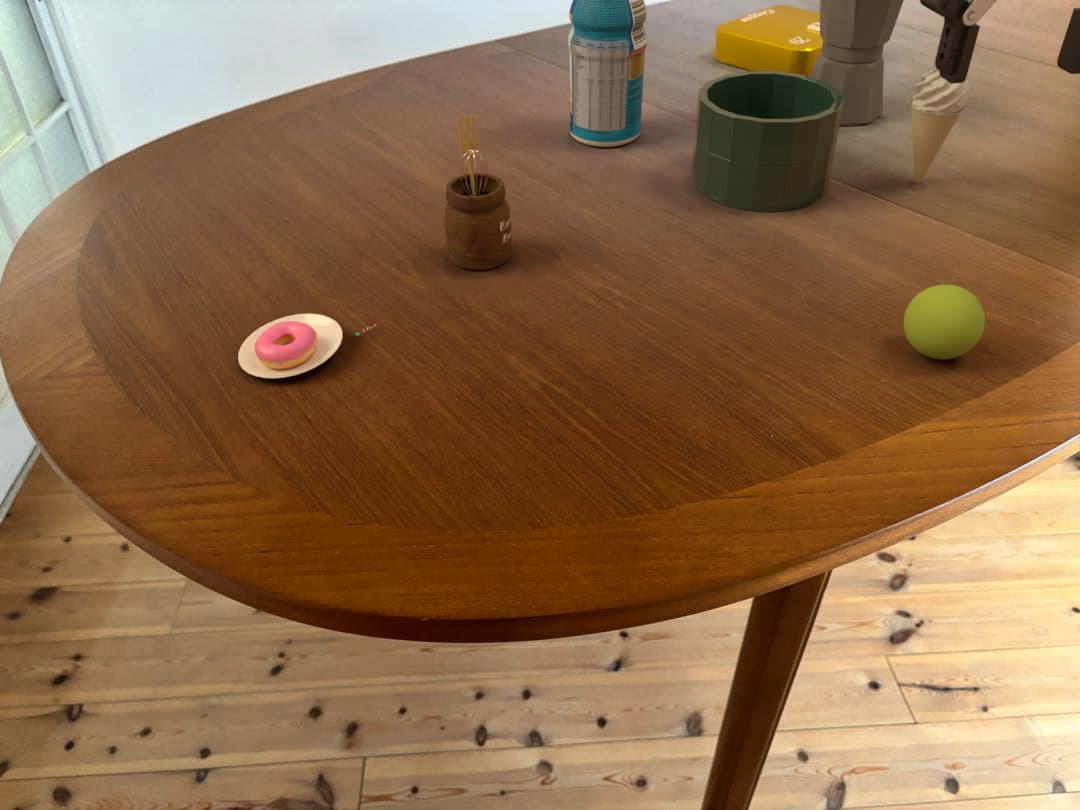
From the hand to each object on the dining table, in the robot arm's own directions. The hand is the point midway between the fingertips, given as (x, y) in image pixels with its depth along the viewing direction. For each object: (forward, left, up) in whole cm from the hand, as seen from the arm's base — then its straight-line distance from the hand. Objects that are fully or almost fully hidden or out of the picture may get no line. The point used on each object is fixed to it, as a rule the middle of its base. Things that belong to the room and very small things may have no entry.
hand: (1011, 75), depth 61 cm
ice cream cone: (-5, -26, -20) cm, 33 cm away
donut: (+50, +5, -20) cm, 54 cm away
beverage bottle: (+27, -38, -20) cm, 51 cm away
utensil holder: (+38, -10, -20) cm, 44 cm away
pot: (+11, -26, -20) cm, 35 cm away
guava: (+1, +4, -20) cm, 20 cm away
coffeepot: (-1, -46, -20) cm, 50 cm away
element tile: (+3, -64, -20) cm, 67 cm away
